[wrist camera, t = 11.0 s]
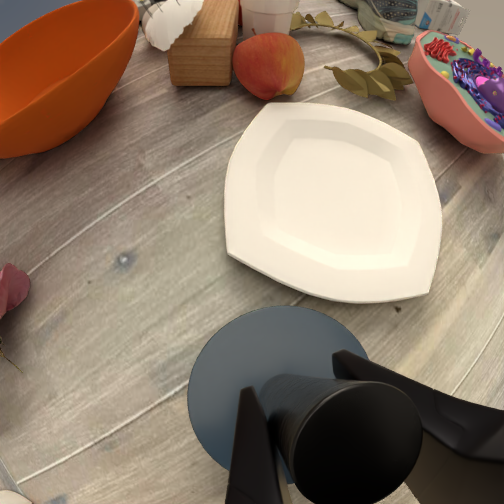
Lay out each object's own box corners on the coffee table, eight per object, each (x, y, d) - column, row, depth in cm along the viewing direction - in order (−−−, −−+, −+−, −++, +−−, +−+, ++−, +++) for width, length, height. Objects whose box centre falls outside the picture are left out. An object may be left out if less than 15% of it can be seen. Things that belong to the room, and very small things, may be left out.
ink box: (403, 16, 44) (444, 25, 46) (418, 28, 42) (458, 36, 44) (414, -14, 36) (455, -1, 38) (431, -4, 34) (471, 10, 36)
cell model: (463, 80, 35) (491, 32, 24) (518, 187, 29) (568, 142, 18) (375, 61, 34) (396, -2, 24) (428, 180, 28) (484, 112, 17)
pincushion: (172, 12, 27) (149, -21, 22) (218, -6, 25) (198, -42, 20) (140, 64, 23) (107, 23, 18) (198, 41, 21) (167, -9, 16)
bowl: (83, 218, 24) (25, 150, 15) (-40, 182, 26) (-81, 141, 17) (187, 52, 33) (179, -13, 24) (52, 56, 35) (34, 12, 25)
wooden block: (232, 37, 24) (242, -16, 32) (163, 38, 24) (196, -16, 31) (230, 88, 30) (239, 19, 38) (170, 88, 30) (197, 19, 37)
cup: (274, 76, 31) (282, -5, 21) (227, 59, 33) (226, -17, 22) (300, 55, 34) (312, -17, 23) (256, 39, 35) (260, -29, 24)
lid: (361, 471, 13) (489, 554, 3) (187, 472, 13) (113, 597, 3) (368, 311, 16) (510, 227, 6) (197, 304, 16) (127, 192, 6)
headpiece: (276, 0, 33) (361, 5, 35) (273, 22, 37) (355, 23, 39) (353, 83, 26) (446, 86, 29) (343, 110, 30) (432, 106, 33)
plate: (423, 145, 29) (430, 134, 27) (432, 323, 22) (445, 319, 20) (252, 102, 30) (252, 88, 28) (199, 280, 23) (195, 272, 21)
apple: (321, 95, 30) (301, 36, 29) (302, 74, 23) (279, 7, 22) (259, 113, 33) (244, 56, 32) (228, 99, 26) (213, 34, 25)
